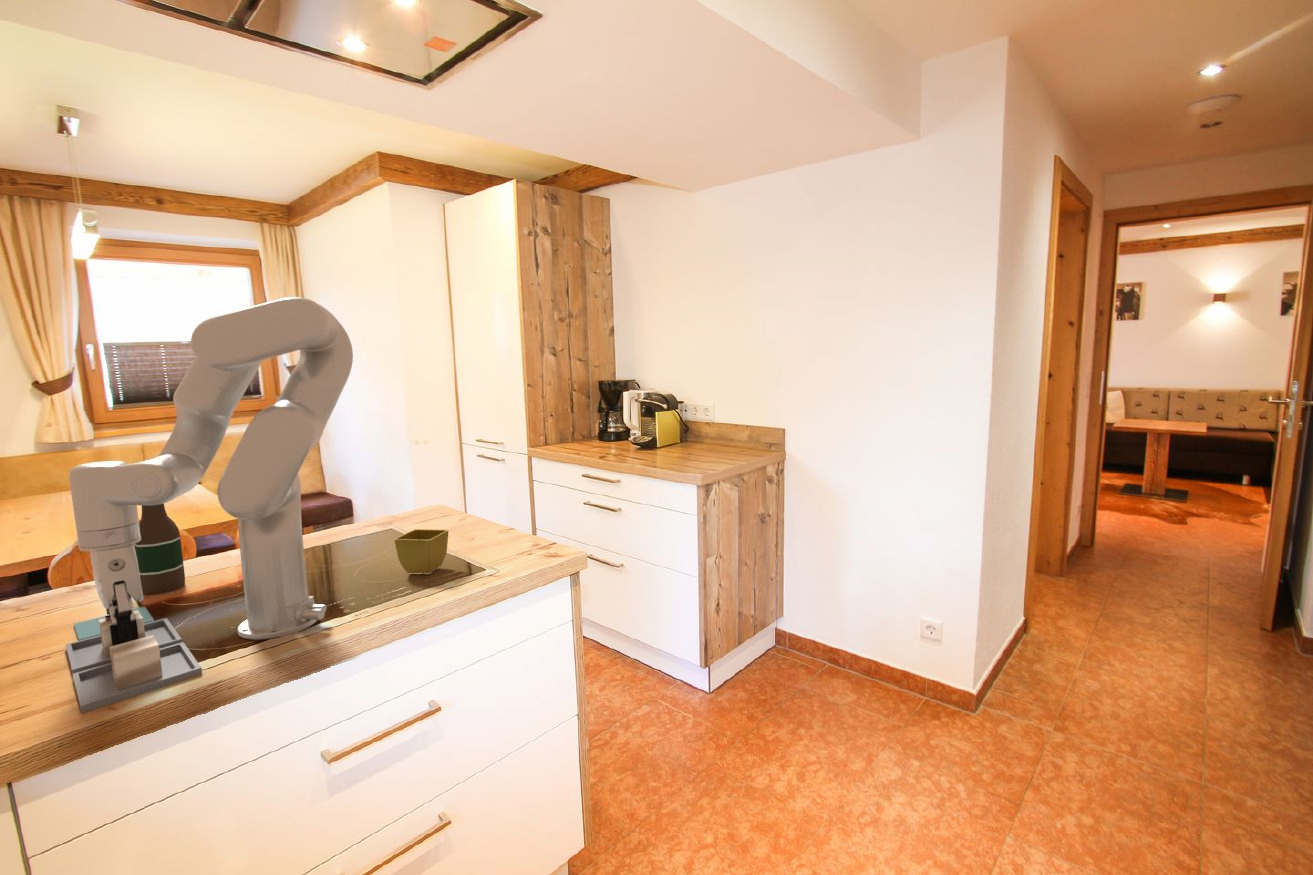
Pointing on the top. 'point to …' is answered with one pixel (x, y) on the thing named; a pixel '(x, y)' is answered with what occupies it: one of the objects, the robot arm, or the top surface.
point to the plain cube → (135, 661)
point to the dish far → (93, 655)
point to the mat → (93, 628)
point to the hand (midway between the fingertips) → (123, 639)
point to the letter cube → (106, 631)
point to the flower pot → (422, 550)
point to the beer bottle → (159, 552)
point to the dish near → (102, 689)
